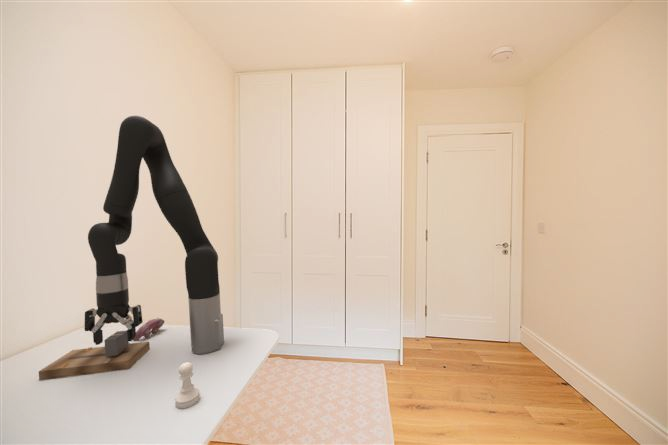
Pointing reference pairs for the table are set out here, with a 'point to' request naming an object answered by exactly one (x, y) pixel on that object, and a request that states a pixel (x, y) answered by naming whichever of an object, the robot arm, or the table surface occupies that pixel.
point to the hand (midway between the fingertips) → (115, 341)
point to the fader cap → (116, 343)
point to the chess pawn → (186, 388)
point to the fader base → (93, 361)
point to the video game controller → (149, 328)
